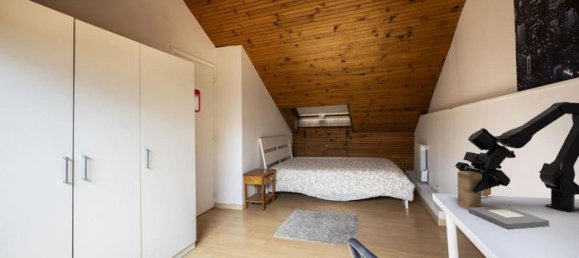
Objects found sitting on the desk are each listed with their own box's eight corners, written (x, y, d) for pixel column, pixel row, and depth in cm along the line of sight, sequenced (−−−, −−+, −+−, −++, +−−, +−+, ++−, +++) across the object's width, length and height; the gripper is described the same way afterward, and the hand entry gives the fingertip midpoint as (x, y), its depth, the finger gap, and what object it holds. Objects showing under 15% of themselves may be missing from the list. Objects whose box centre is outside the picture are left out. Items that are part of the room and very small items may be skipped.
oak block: (469, 204, 95) (469, 170, 95) (481, 208, 90) (481, 173, 90) (457, 205, 95) (457, 171, 94) (468, 209, 90) (468, 174, 89)
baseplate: (504, 209, 89) (504, 204, 89) (549, 225, 75) (549, 220, 75) (468, 212, 87) (468, 207, 87) (507, 229, 73) (507, 223, 73)
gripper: (459, 142, 101) (434, 170, 101) (502, 146, 83) (472, 181, 82) (476, 160, 102) (452, 188, 102) (523, 169, 84) (494, 203, 83)
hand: (465, 189), depth 92 cm, fingers open, 7 cm apart
